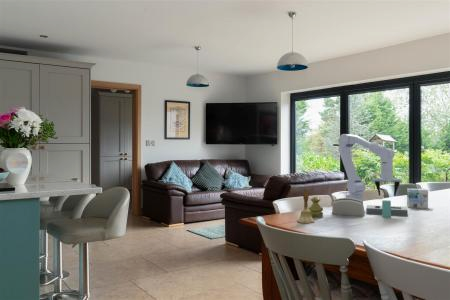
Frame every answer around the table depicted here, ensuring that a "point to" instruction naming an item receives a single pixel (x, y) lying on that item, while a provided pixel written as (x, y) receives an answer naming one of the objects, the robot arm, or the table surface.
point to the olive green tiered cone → (316, 208)
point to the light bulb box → (417, 198)
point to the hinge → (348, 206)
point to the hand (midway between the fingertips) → (387, 195)
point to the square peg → (386, 208)
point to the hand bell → (305, 210)
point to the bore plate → (394, 210)
